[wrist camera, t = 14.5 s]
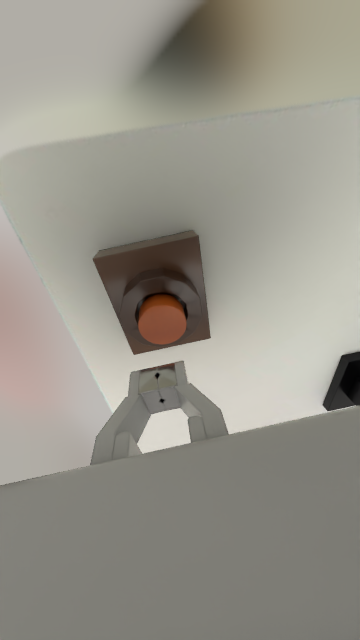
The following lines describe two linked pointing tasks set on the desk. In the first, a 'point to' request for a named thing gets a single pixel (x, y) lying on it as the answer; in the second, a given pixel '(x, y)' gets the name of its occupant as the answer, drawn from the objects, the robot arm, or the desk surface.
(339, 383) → the bracket
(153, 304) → the button
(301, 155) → the desk surface
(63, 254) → the desk surface
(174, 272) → the button block
